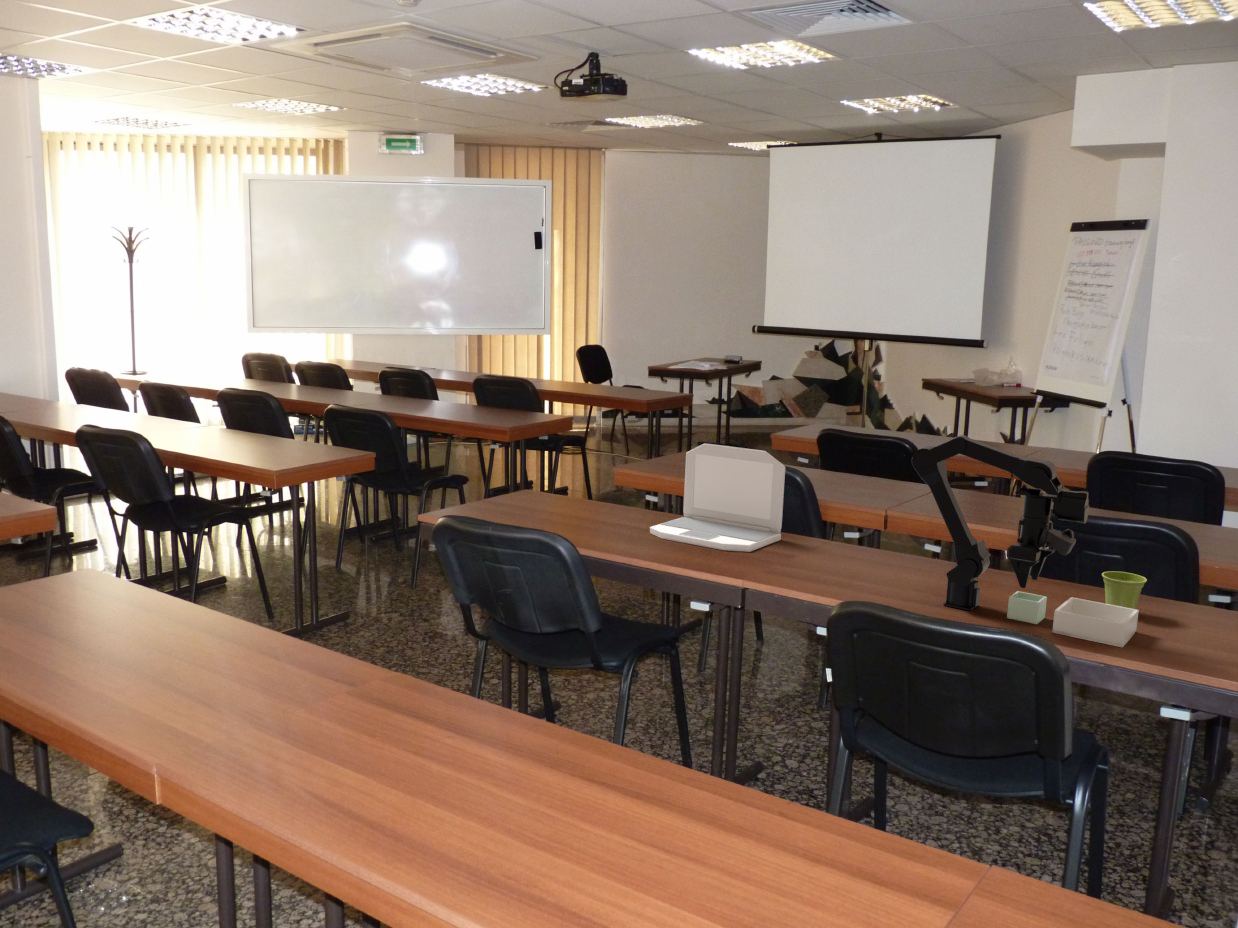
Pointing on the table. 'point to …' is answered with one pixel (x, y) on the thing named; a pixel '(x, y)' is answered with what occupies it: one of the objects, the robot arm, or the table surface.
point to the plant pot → (1122, 588)
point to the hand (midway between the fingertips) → (1028, 583)
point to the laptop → (729, 499)
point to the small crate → (1027, 607)
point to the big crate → (1095, 621)
